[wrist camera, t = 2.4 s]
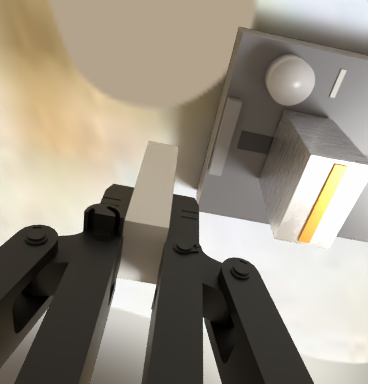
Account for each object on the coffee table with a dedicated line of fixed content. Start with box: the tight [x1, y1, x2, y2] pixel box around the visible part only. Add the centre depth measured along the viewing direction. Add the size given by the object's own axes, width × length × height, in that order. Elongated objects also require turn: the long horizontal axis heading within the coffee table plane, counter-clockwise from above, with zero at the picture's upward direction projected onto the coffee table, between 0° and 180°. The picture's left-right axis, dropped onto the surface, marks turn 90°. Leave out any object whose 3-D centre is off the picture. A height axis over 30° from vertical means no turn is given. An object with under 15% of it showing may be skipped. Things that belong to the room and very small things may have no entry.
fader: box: [258, 109, 368, 249], centre depth 19 cm, size 5×3×6 cm, turn 169°
